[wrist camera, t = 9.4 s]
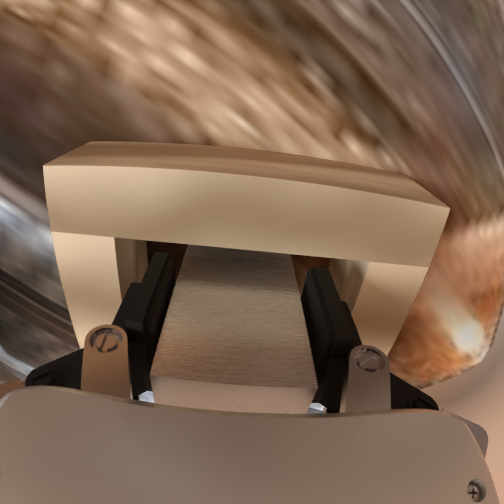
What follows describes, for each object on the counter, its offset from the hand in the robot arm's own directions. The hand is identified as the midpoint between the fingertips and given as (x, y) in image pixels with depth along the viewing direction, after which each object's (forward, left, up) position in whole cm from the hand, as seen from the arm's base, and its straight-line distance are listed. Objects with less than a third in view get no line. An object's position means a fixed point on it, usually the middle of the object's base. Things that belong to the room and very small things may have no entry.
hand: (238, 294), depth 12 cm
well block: (+2, 0, -5) cm, 5 cm away
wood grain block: (+1, 0, -5) cm, 5 cm away
